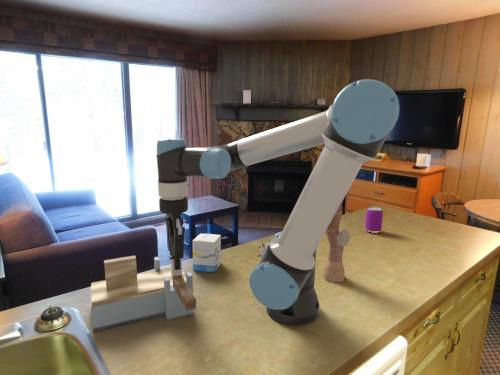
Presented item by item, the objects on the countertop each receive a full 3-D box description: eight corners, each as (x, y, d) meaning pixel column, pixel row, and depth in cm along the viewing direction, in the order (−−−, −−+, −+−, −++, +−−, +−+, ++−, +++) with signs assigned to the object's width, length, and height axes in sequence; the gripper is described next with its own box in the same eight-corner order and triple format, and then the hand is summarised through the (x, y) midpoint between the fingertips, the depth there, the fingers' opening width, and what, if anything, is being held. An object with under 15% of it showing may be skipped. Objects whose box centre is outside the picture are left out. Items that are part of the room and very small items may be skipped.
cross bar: (196, 308, 80) (195, 298, 80) (186, 310, 79) (185, 301, 78) (181, 283, 92) (181, 275, 92) (172, 285, 91) (172, 276, 91)
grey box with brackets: (194, 313, 93) (193, 275, 91) (93, 338, 82) (89, 295, 80) (179, 286, 108) (178, 253, 106) (92, 304, 97) (89, 268, 94)
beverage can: (382, 231, 165) (384, 208, 163) (379, 235, 159) (381, 211, 156) (366, 228, 169) (368, 205, 167) (363, 232, 163) (365, 209, 160)
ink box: (214, 273, 118) (214, 242, 116) (192, 270, 119) (191, 240, 117) (221, 263, 126) (221, 234, 124) (200, 261, 128) (199, 232, 125)
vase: (350, 279, 114) (356, 194, 108) (336, 285, 109) (342, 197, 104) (326, 268, 122) (330, 189, 116) (312, 273, 118) (316, 192, 112)
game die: (267, 268, 130) (269, 244, 134) (284, 267, 124) (285, 241, 129) (251, 263, 124) (254, 238, 129) (269, 261, 119) (271, 235, 123)
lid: (190, 288, 94) (189, 255, 92) (92, 309, 83) (88, 272, 81) (180, 272, 104) (179, 242, 102) (91, 289, 93) (88, 256, 91)
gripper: (194, 200, 84) (196, 286, 88) (181, 191, 95) (184, 267, 100) (164, 203, 80) (168, 292, 85) (154, 193, 92) (158, 271, 96)
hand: (176, 278), depth 92 cm, fingers closed
